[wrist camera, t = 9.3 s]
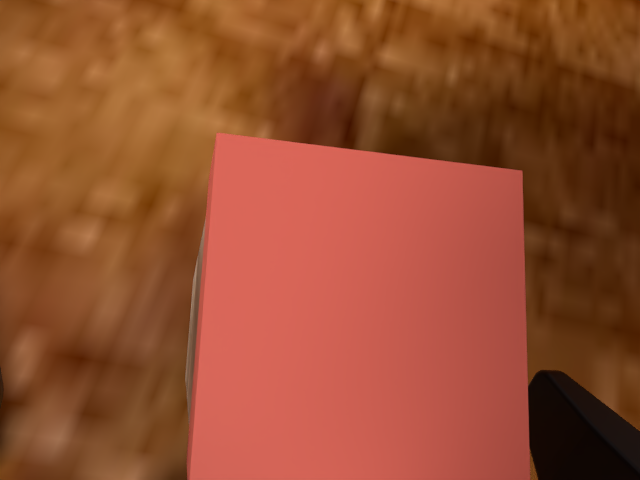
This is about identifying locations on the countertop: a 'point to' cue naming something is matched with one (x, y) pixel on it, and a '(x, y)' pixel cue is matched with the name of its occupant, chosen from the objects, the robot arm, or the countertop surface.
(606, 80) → the countertop surface
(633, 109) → the countertop surface
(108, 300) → the countertop surface
